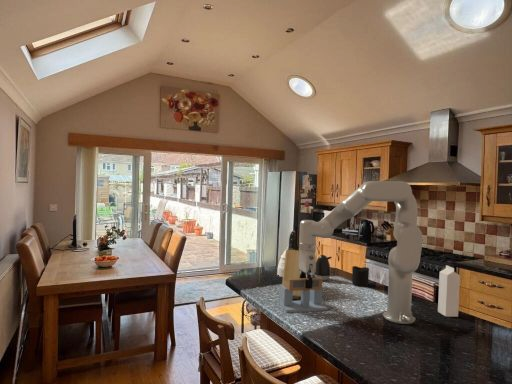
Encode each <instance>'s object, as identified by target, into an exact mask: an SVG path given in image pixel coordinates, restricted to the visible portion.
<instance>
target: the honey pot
mask: <svg viewBox="0 0 512 384" xmlns="http://www.w3.org/2000/svg"><path fill="white" fill-rule="evenodd" d="M288 247H289V246H287V247H286V249H284V251H283V253H282V254H281V255H280V258H279V262H278V265H277V271H276V275H277V276H278V275H279V276H278V277H280V278H281V277H282V278H283V273H284V263H285V255H286V250H288Z"/></svg>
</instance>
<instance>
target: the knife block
mask: <svg viewBox="0 0 512 384" xmlns="http://www.w3.org/2000/svg"><path fill="white" fill-rule="evenodd" d="M295 241H296V231H294V230H292V231H291V232H290V234H289V238H288V246H287V247H288V250H286V249H285V250H286V255H285V263H284V273H283V277H282V284H281V285H283V281H286V282H288V279H296V278H300V269H299V253H300V250H299V245H297V246H296V242H295ZM293 300H296V301H298V300H301V290H298V291H293Z"/></svg>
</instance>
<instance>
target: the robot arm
mask: <svg viewBox="0 0 512 384" xmlns="http://www.w3.org/2000/svg"><path fill="white" fill-rule="evenodd" d="M372 202H388V203H389V202H393V203H394V205H395V208H396V209H395V221H394V226H393V227H394V228H393V233H392V234H393V237H394V240H396V241H397V242H396V246H394V247H392V248H391V249H390V251H389V253H388V261H387V263H388V280H387V281H388V282H387V283H388V285H387V286H388V287H387V305H386V306H387V307H386V310H387V311H384V312H383V313H382V316H383V317H384V319H385V320H387V321H390V322H392V323H396V324H400V325H401V324H402V325H411V324H414V322H415V321H416V317H414V316H413V311H412V293H413V292H412V291H413V273H414V272H416V271H417V269H418V268H419V265H420V263H421V255H422V247H423V240H424V239H423V233H422V230H421V229H420V228H419V227H418V226H417V225H418V224H417V222H418V211H419V209H418V202H417V200H416V198H415V195H414V194H413V190H412V187H411V185H410V184H409V183H408V182H405V181H402V180H399V181H398V180H397V181H396V180H395V181H394V180H391V181H389V180H387V181H385V180H384V181H382V180H381V181H379V180H370V181H369V180H368V181H365V182H363V183H362V184H361V185H359V186H358V187H357V188H356V189H355V190H354V191H352V193H350V194H349V195H347V196H346V197H345V199H343V200H342V201H341V202H339V203H338V205H336V206H335V207H334V208H333V209H332V210H331V211H330V212H328V213H327V214H326V215H325V216H324V217H322V218H321V219H320V220H319V221H315V220H312V219H302V220H301V221H300V222H299V239H298V241H299V243H298V246H299V251H300V253H299V269H300V278H306V280H305V288H306V289H309V288H312V282H313V278H315V275H314V274H315V273H316V261H317V258H316V257H317V255H316V247H317V246H316V245H317V244H316V243H317V238H322V239H328V238H330V237H332V236H333V234H334V232H335V231H334V230H335V229H337V227H339V226H341V224H342V223H344V222H346V221H348V220H349V219H353V218H354V217H355V216H356V215H358V214H359V213H360V212H361V211H362V210H364V209H365V208H366V207H367V206H368V205H369V204H371V203H372Z"/></svg>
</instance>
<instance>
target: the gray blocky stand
mask: <svg viewBox="0 0 512 384" xmlns="http://www.w3.org/2000/svg"><path fill="white" fill-rule="evenodd" d="M279 294H280V295H279V301H278V305H279V306H280V307H281V309H282V310H284V311H285V313H286V314H287V313H288V314H289V313H301V312H302V313H304V312H321V311H328V309H329V307H328V306H326V305H325V304H324V303H323V288H322V289H321V290H301V300H294V299H293V291H289V290H288V289H287V288H286V287H285V286H283V285H282V284H281V285H280V292H279Z"/></svg>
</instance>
